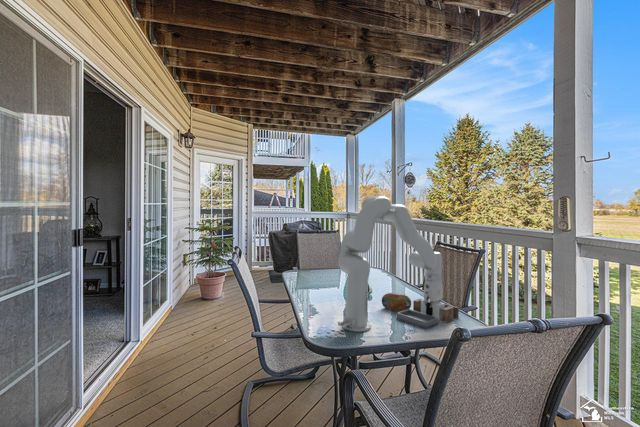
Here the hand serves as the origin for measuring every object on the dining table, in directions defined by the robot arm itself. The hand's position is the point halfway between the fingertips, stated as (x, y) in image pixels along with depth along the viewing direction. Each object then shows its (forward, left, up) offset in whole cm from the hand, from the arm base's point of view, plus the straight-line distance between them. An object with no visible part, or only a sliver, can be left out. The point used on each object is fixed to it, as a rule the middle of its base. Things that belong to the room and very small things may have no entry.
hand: (432, 313), depth 153 cm
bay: (+2, 0, -1) cm, 3 cm away
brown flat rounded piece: (-7, +17, -2) cm, 18 cm away
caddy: (0, 0, -1) cm, 1 cm away
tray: (-13, 0, -1) cm, 13 cm away
